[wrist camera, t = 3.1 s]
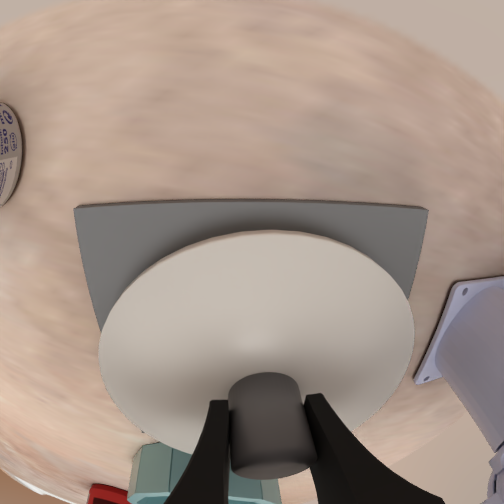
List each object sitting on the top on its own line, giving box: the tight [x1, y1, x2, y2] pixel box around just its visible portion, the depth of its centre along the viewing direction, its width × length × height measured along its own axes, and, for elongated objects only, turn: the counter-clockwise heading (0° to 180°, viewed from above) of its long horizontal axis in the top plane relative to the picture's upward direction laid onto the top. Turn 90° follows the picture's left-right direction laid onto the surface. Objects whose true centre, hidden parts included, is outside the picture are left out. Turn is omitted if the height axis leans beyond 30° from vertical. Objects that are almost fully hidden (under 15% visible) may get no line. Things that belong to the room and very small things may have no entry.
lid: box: [99, 230, 415, 480], centre depth 10 cm, size 14×14×4 cm
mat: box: [74, 199, 429, 433], centre depth 13 cm, size 15×15×1 cm
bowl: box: [127, 442, 282, 504], centre depth 17 cm, size 12×12×4 cm
